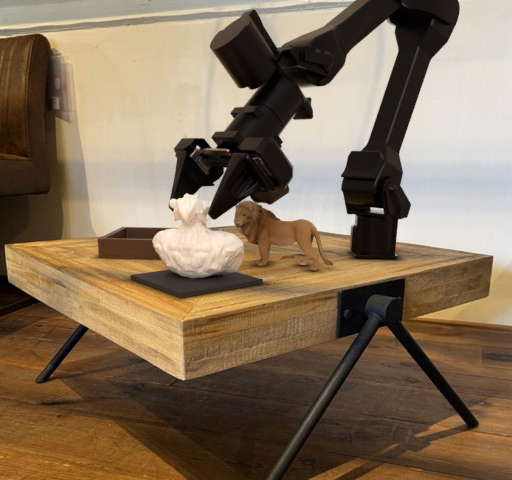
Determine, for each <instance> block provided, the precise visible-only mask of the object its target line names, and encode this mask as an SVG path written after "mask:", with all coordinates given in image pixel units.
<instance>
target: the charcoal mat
mask: <svg viewBox="0 0 512 480" xmlns="http://www.w3.org/2000/svg"><path fill="white" fill-rule="evenodd" d="M130 280H132V281H135V282H137V283H140V284H143V285H145V286H148V287H151V288H153V289H155V290H159V291H161V292H164V293H165V294H168V295H172V296H175V297H176V298H179V299H184V298H190V297H196V296H201V295H202V296H203V295H207V294H213V293H218V292H219V293H220V292H224V291H225V292H226V291H230V290H236V289H242V288H248V287H252V286H258V285H263V284H264V279H263V278H260V277H256V276H253V275H249V274H245V273H243V272H238V271H236V272H234V273H226V274H221V275H212V276H208V277H205V278H195V279H192V278H188V277H182V276H180V275H179V274H177V273H175V272H173V271H171V270H169V269H163V270H156V271H155V270H154V271H149V272H141V273H135V274H130Z"/></svg>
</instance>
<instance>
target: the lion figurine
mask: <svg viewBox="0 0 512 480" xmlns="http://www.w3.org/2000/svg"><path fill="white" fill-rule="evenodd" d="M234 207H235V211H234V219H233V225H234V226H235V228H236V230H237V231H238V233H240V234H241V235H242V236H243V237H245V238H246V239H247V242H248V243H250V244H252V245H257V246H258V251H259V255H260V258H259V260H258V261H256V266H258V267H263V266H265V265H267V263H268V262H269V259H270V252H271V245H272V246H277V247H287V246H291V245H293V244H295V243H296V244H297V245H298V247H299V248H300V250H301V251H302V252H303V253H304V258H303V259H300V260H299V261H298V265H299V266H307V265H308V264H309V262H310V260H311V261H312V264H310V265H309V266H308V269H309V271H318V270H319V267H320V260H319V255H320V258H321V260H322V261H323V263H324V264H325V265H327V266H331V267H332V266H334V263H333V262H332V261H330V260H329V259H328V258H326V256H325V255H324V250H323V244H322V240H321V235H320V234H319V230H318V229H317V227H316V226H315V224H314V223H313V222H312V221H309V220H307V219H304V218H301V219H296V220H281V219H280V218H278V217H277V216H276V215H275V213H274V212H273V211H271V210H269V209H267V208H265V207H263V206H262V205H261V204H260V203H255V202H254V201H253V200H242V201H241V202H239V203H238V204H237V205H235V206H234ZM314 238H315V243H316V245H317V249H318V252H319V254H318V252H317V251H316V250H315V249H314V246H313V242H314Z"/></svg>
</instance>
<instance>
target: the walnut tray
mask: <svg viewBox="0 0 512 480" xmlns="http://www.w3.org/2000/svg"><path fill="white" fill-rule="evenodd" d="M175 228H176V229H178V228H179V227H158V226H157V227H156V226H155V227H152V226H151V227H150V226H149V227H147V226H121V227H119V228H117V229H115V230H113V231H111V232H109V233H107V234H104V235H103V236H100V237H98V238H97V251H98V258H99V259H129V260H131V259H133V260H134V259H135V260H136V259H137V260H161V258H160V256H159V254H158V253H157V252H156V251H155V248H154V246H153V242H152V240H153V238H154V236H155V235H156V234H157V233H158V232H160V231H163V230H166V229H175ZM208 228H209V227H208ZM209 229H210V230H212V231H215V230H218V231H225V229H224V228H209Z"/></svg>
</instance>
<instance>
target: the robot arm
mask: <svg viewBox="0 0 512 480" xmlns="http://www.w3.org/2000/svg"><path fill="white" fill-rule="evenodd" d="M460 7H461V5H460V2H459V0H354V1H353V2H352V3H350V4H349V5H348V6H347V7H346V8H344V9H343V10H341V12H339V13H338V14H337V15H335V17H332V19H331V20H330V21H328V22H327V23H326V24H325V25H324V26H321V27H319V28H316V29H314V30H312V31H310V32H309V31H308V32H307V33H304V34H302V35H299V36H297V37H295V38H293V39H291V40H289V41H286V42H285V43H283V44H282V45H281V46H279V47H277V45H276V44H275V42H274V40H273V39H272V37H271V36H270V34H269V32H268V31H267V29H266V27H265V26H264V23H263V21H262V19H261V17H260V14H258V12H257V10H256V9H251V10H248V11H244V12H242V14H241V15H240V16H239V18H236V19H235V20H233V21H232V22H231V23H230V24H228V25H227V26H226V27H224V28H223V29H221V30H219V31H218V32H217V33H216V34H215V35H214V37H213V38H212V40H211V41H210V43H209V49H210V50H211V52H212V53H213V55H214V56H215V58H216V59H217V60H218V62H219V63H220V64H221V66H222V68H223V69H224V70H225V71H226V73H227V75H228V76H229V77H230V79H231V80H232V81H233V83H234V84H235V86H236V87H237V88H238V89H246V88H248V90H250V91H253V90H254V92H253V93H252V94H251V96H250V97H249V98H248V100H247V101H246V102H245V103H244V104H243V106H236V107H233V109H232V110H231V111H230V113H229V114H230V115H231V116H232V118H233V119H232V120H231V121H230V122H229V124H228V125H227V126H226V128H225V129H224V130H222V131H221V130H220V131H214V132H213V134H212V135H211V137H210V138H211V140H212V141H213V142H214V143H215V145H216V146H215V148H214V147H212V146H211V145H210V144H209V142H208V141H207V140H206V139H205V138H204V137H182V138H181V139H180V140H179V141H178V142H177V144H176V145H175V146H174V148H173V152H174V153H175V154H174V156H175V158H176V164H175V171H174V176H173V177H174V178H173V183H172V187H171V192H170V197H169V202H170V200H171V199H176V200H177V199H179V198H183V197H184V195H186V193H188V194H190V195H196V194H197V192H198V191H199V190H200V189H201V188H203V187H215V186H216V184H215V182H217V181H218V180H220V179H221V180H220V182H219V184H218V187H217V189H216V191H215V193H214V195H213V198H212V200H211V201H212V203H211V206H210V208H209V211H208V214H207V215H208V217H209V218H210V219H211V220H214V221H215V220H217V219H219V218H220V217H221V216H222V215H225V213H227V212H228V211H230V210H231V209H233V208H234V207H235V205H238V204H239V203H241V202H242V201H245V199H247V198H248V197H250V199H251V201H253V202H255V203H257V204H267V205H268V206H269V205H271V206H272V205H273V204H275V203H276V202H278V201H279V200H280V199H282V198H284V197H285V196H286V195H288V194H289V193H290V187H289V184H290V183H291V182H292V181H293V179H294V166H293V164H292V162H291V161H290V160H289V158H288V157H287V155H286V154H285V152H284V151H283V150H282V144H283V143H284V141H283V140H282V139H281V137H280V136H281V134H282V133H283V132H284V130H286V128H287V127H288V125H289V124H290V123H291V121H292V120H294V121H303V120H312V119H313V118H314V109H313V107H312V98H311V97H310V96H307V97H306V96H305V94H304V93H303V91H302V89H310V88H319V87H320V88H321V87H325V86H327V85H329V84H330V83H332V81H333V80H334V79H335V78H336V76H337V75H338V74H339V73H340V71H342V69H343V67H344V66H345V64H346V61H347V55H348V54H349V53H350V52H351V51H352V49H353V48H355V47H356V46H357V45H358V44H360V43H361V42H362V41H363V40H364V39H366V37H368V36H369V35H370V34H371V33H372V32H374V31H375V30H376V29H377V28H378V27H380V26H381V25H382V24H383V23H384V22H386V23H388V24H389V25H391V26H393V27H395V28H394V37H395V43H396V45H397V54H396V56H395V57H396V58H395V60H394V63H393V66H392V70H391V72H390V75H389V78H388V82H387V84H386V87H385V90H384V93H383V95H382V99H381V102H380V104H379V108H378V111H377V114H376V116H375V119H374V123H373V126H372V129H371V132H370V135H369V138H368V141H367V143H366V145H365V146H364V147H363V148H362V149H361V150H351V151H350V152H349V154H348V156H347V159H346V163H345V167H344V170H343V171H342V173H341V174H340V177H341V178H342V181H341V186H340V191H341V192H342V195H343V200H344V204H345V211H346V214H347V215H354V216H355V217H354V223H351V225H350V236H349V251H350V252H351V254H353V256H354V258H356V259H398V256H399V255H398V254H397V253H396V249H397V240H398V239H397V237H398V227H399V226H398V225H399V220H403V219H407V218H408V216H409V214H410V210H411V208H412V203H411V202H410V200H409V198H408V196H407V194H406V193H405V191H404V189H403V187H402V186H401V184H402V179H403V175H404V170H403V166H402V161H401V157H400V152H401V150H402V149H401V148H402V146H403V142H404V140H405V137H406V134H407V131H408V129H409V126H410V123H411V122H410V121H411V119H412V116H413V113H414V110H415V108H416V104H417V102H418V99H419V95H420V92H421V89H422V87H423V84H424V80H425V78H426V75H427V72H428V70H429V66H430V63H431V61H432V59H433V58H434V57H435V56H436V55H437V54H438V53H439V52H440V51H441V49H443V48H444V46H445V45H446V44H447V43H448V42H449V40H450V38H451V36H452V35H453V32H454V30H455V28H456V26H457V23H458V20H459V16H460V11H461V8H460ZM169 202H168V208H169V210H170V211H171V212H173V213H174V209H173V208H171V207H170V206H169V204H170V203H169Z"/></svg>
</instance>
